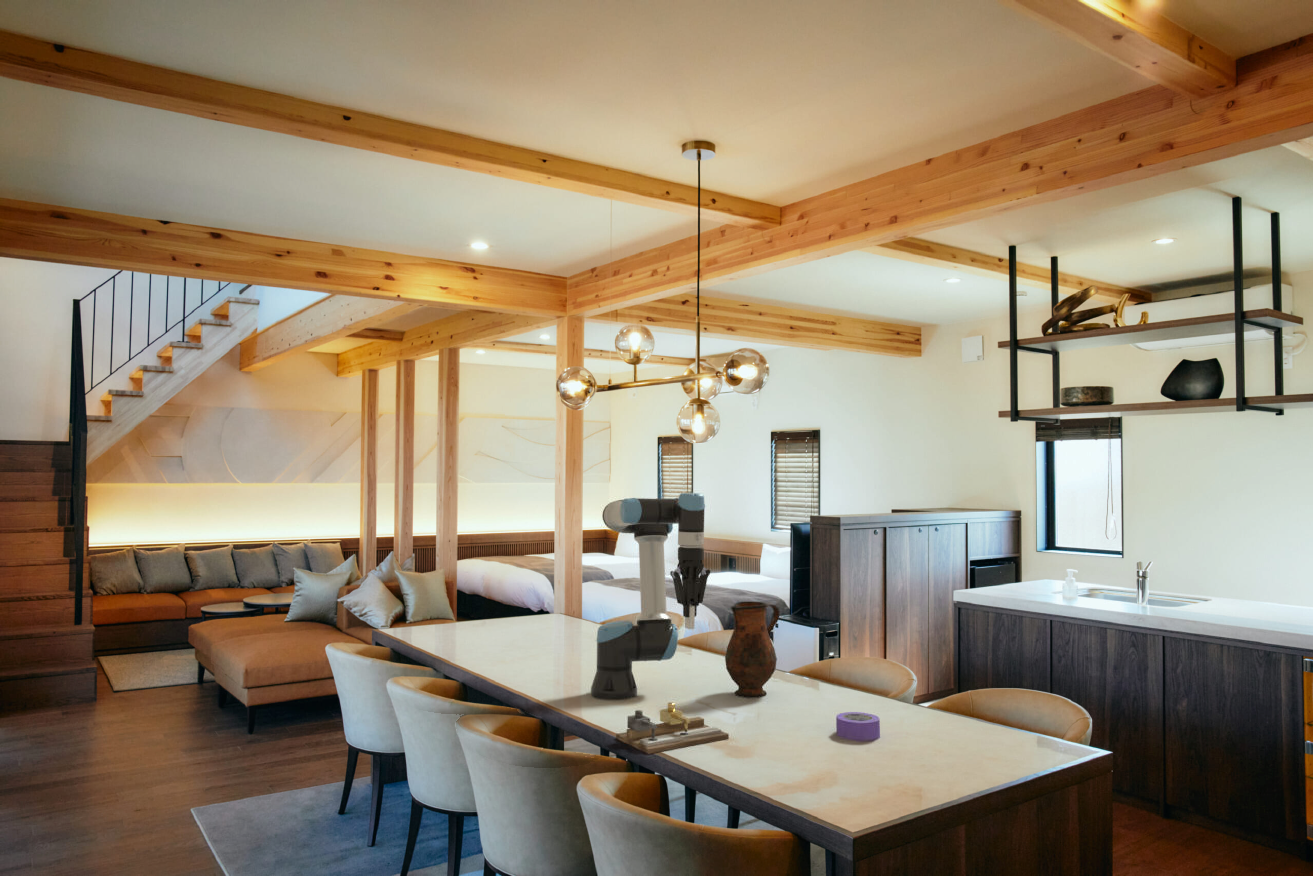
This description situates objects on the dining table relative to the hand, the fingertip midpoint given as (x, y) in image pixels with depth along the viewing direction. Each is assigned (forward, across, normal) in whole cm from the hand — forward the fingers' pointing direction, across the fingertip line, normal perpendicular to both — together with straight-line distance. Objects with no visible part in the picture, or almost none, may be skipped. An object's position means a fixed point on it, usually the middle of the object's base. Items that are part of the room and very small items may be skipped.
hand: (689, 628), depth 245 cm
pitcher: (+29, +41, +19) cm, 53 cm away
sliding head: (+25, -10, -9) cm, 28 cm away
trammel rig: (+27, -12, -10) cm, 31 cm away
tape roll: (+27, +34, -33) cm, 55 cm away
